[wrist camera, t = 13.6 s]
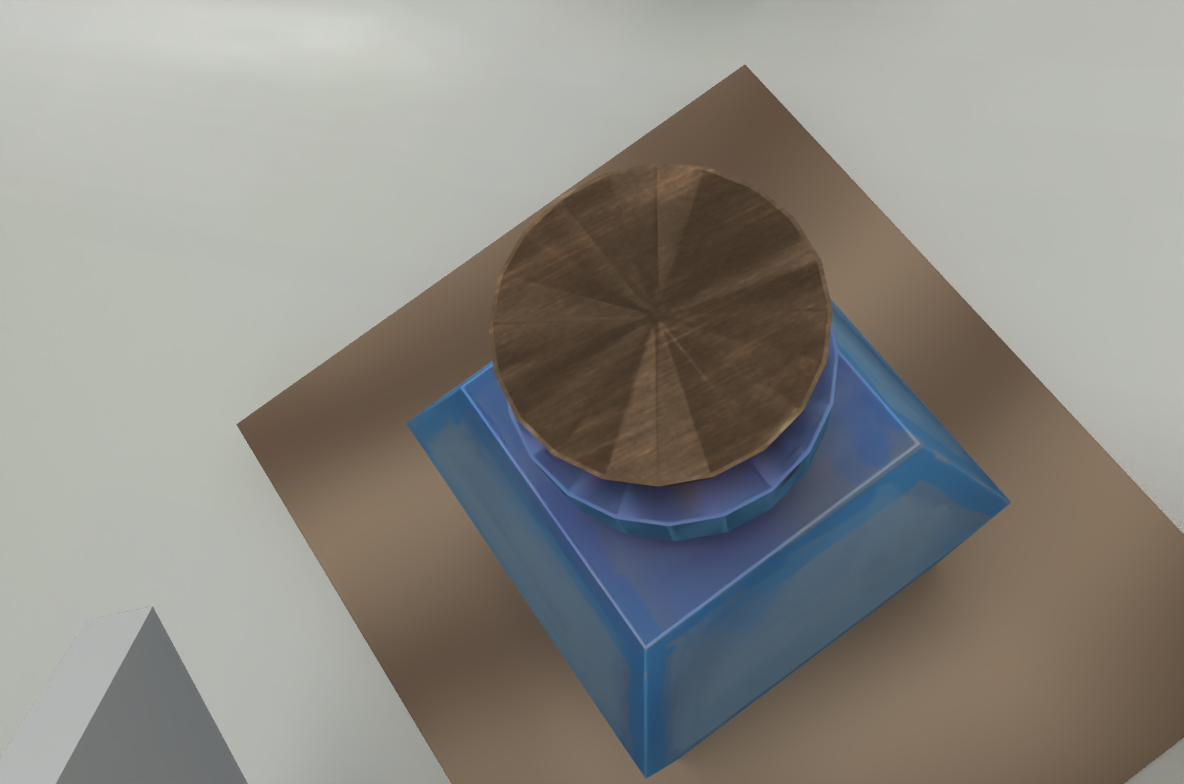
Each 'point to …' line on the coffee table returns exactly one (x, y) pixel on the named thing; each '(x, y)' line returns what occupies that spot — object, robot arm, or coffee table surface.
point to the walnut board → (856, 659)
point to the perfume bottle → (692, 451)
